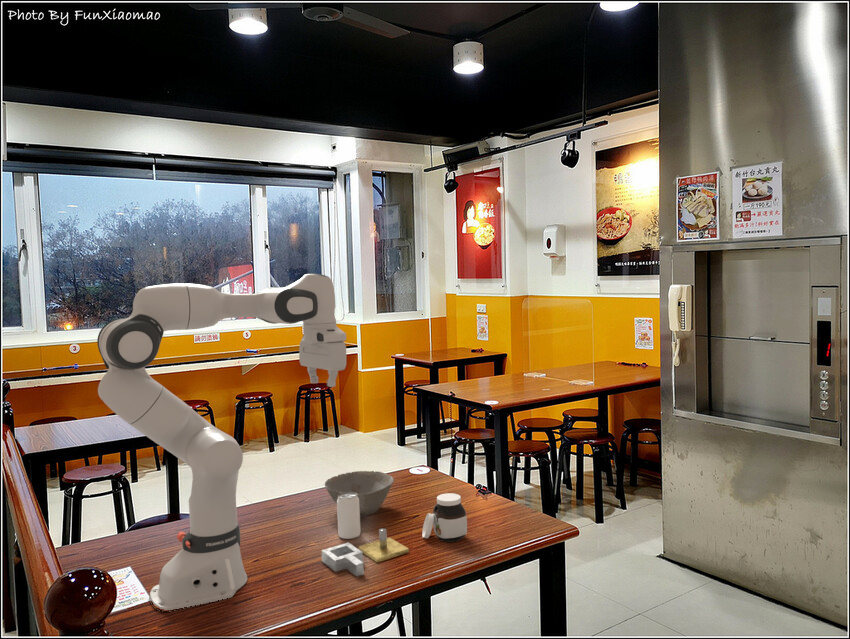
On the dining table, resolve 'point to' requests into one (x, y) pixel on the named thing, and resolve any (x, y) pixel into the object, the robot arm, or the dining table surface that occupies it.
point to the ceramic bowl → (362, 488)
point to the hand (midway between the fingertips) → (322, 384)
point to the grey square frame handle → (344, 559)
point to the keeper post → (383, 548)
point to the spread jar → (447, 519)
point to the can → (348, 515)
